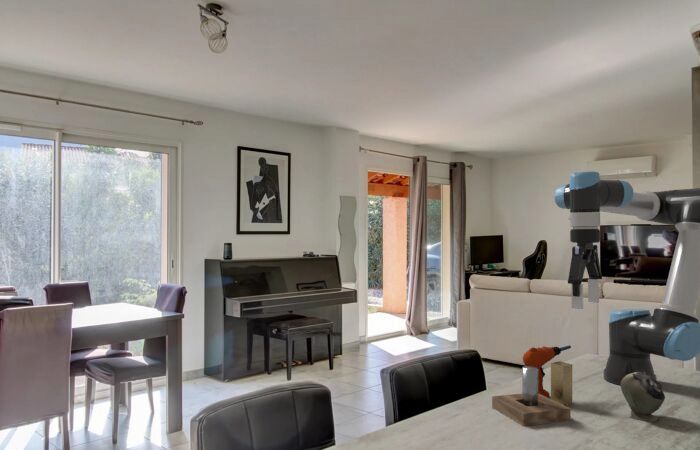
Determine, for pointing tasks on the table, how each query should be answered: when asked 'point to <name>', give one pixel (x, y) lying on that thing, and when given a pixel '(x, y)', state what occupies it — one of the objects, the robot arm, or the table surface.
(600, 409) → the table surface
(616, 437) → the table surface
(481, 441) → the table surface
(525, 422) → the socket block
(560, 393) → the light brown rectangular block
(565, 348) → the toy drill
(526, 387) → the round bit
